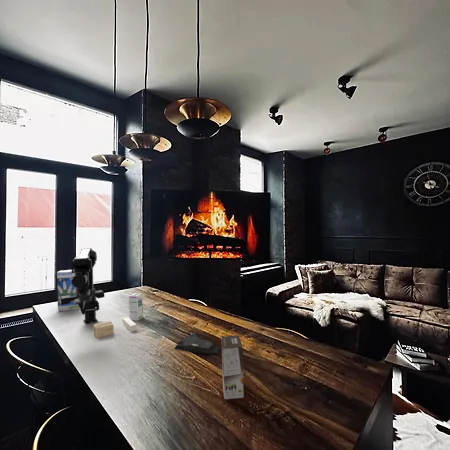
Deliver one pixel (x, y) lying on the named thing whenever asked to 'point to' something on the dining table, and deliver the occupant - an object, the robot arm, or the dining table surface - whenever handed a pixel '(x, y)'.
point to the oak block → (103, 329)
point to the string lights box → (66, 289)
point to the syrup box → (135, 306)
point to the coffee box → (232, 367)
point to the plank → (129, 324)
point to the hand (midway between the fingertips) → (83, 314)
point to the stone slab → (197, 345)
